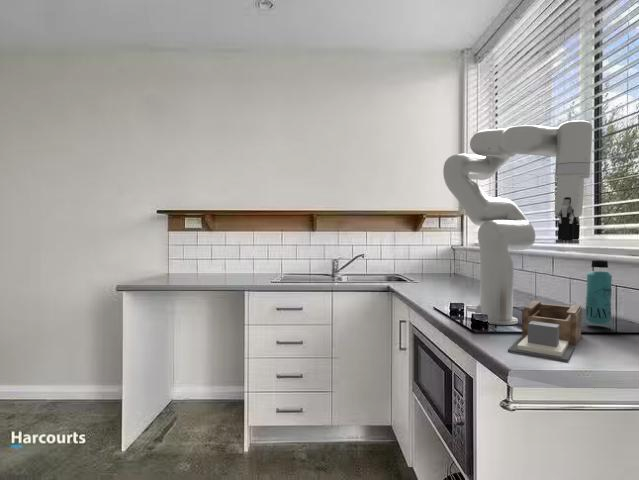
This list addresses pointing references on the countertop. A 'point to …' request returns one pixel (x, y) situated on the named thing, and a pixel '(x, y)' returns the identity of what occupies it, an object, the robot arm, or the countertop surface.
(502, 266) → the robot arm
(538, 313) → the walnut box
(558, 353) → the cover plate
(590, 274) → the beverage bottle
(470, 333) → the countertop surface
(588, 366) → the countertop surface
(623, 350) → the countertop surface
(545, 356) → the charcoal mat
